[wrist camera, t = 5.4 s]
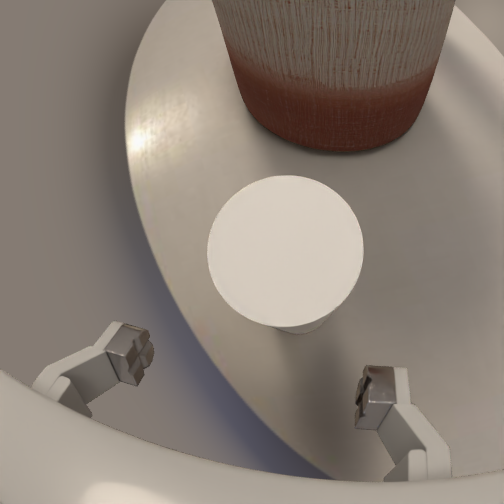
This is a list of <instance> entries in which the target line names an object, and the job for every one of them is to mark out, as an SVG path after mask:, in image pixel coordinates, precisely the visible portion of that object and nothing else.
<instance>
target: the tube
mask: <svg viewBox="0 0 504 504" xmlns="http://www.w3.org/2000/svg"><path fill="white" fill-rule="evenodd" d="M363 252H364V247H363V238H362V232H361V229H360V226H359V223H358V220H357V218H356V216H355V215H354V213H353V211H352V210H351V208H350V206H349V205H348V204H347V203H346V202H345V201H344V200H343V198H342V197H341V196H340V195H339V194H337V193H336V192H335V191H333V190H332V189H331V188H329V187H328V186H326V185H324V184H322V183H320V182H318V181H315V180H312V179H309V178H305V177H300V176H291V175H284V176H273V177H269V178H265V179H262V180H258V181H256V182H254V183H252V184H250V185H248V186H246V187H244V188H243V189H241V190H240V191H239V192H237V193H236V194H234V195H233V196H232V197H231V198H230V199H229V200H228V201H227V202H226V204H225V205H224V206H223V207H222V209H221V210H220V212H219V213H218V215H217V216H216V219H215V221H214V223H213V225H212V228H211V231H210V235H209V239H208V248H207V260H208V265H209V270H210V275H211V277H212V279H213V282H214V284H215V286H216V289H217V290H218V291H219V293H220V294H221V296H222V297H223V299H224V300H225V301H226V302H227V303H228V304H229V305H230V306H231V307H232V308H233V309H234V310H235V311H237V312H238V313H240V314H242V315H243V316H245V317H246V318H248V319H250V320H253V321H256V322H258V323H261V324H263V325H266V326H270V327H273V328H276V329H279V330H282V331H286V332H289V333H293V334H305V333H309V332H311V331H313V330H315V329H316V328H318V327H319V326H320V325H321V324H322V323H323V322H324V321H325V320H326V319H327V318H328V317H329V316H330V315H331V314H332V313H333V312H334V310H335V309H336V308H337V307H338V306H339V305H340V304H341V303H342V302H343V301H344V300H345V298H346V297H347V296H348V295H349V294H350V292H351V290H352V289H353V287H354V285H355V283H356V282H357V280H358V277H359V274H360V270H361V267H362V262H363Z"/></svg>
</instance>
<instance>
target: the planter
mask: <svg viewBox="0 0 504 504" xmlns="http://www.w3.org/2000/svg"><path fill="white" fill-rule="evenodd" d="M212 1H213V5H214V8H215V11H216V14H217V17H218V20H219V24H220V27H221V30H222V34H223V37H224V40H225V44H226V47H227V50H228V54H229V57H230V61H231V64H232V68H233V71H234V74H235V78H236V81H237V84H238V87H239V90H240V93H241V96H242V98H243V100H244V103H245V105H246V107H247V108H248V110H249V111H250V113H251V114H252V115H253V116H254V117H255V119H256V120H257V121H258V122H259V123H260V124H262V125H263V126H264V127H265V128H267V129H268V130H270V131H271V132H273V133H274V134H276V135H278V136H280V137H282V138H284V139H286V140H288V141H290V142H293V143H296V144H299V145H302V146H306V147H309V148H314V149H319V150H326V151H340V152H347V151H360V150H366V149H371V148H375V147H379V146H382V145H384V144H387V143H389V142H391V141H393V140H395V139H396V138H398V137H400V136H401V135H402V134H404V133H405V132H406V131H407V130H408V129H409V128H410V127H411V126H412V124H413V123H414V122H415V120H416V119H417V117H418V115H419V113H420V111H421V109H422V106H423V104H424V102H425V99H426V96H427V93H428V91H429V88H430V85H431V82H432V79H433V76H434V73H435V69H436V66H437V63H438V60H439V57H440V53H441V50H442V47H443V43H444V40H445V36H446V33H447V29H448V26H449V22H450V19H451V15H452V11H453V7H454V4H455V0H212Z"/></svg>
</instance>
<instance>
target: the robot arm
mask: <svg viewBox="0 0 504 504" xmlns="http://www.w3.org/2000/svg"><path fill="white" fill-rule="evenodd" d="M149 337H150V334H149V331H148V330H146V329H143V328H139V327H136V326H132V325H128V324H125V323H121V322H117V321H114V322H112V323H111V324H110V325H109V327H108V328H107V329H106V330H105V332H104V333H103V334H102V336H101V337H100V338H99V339H98V341H97V342H96V343H95V345H94V346H93V347H91V346H89V347H87V348H85V349H83V350H81V351H78V352H76V353H74V354H72V355H70V356H68V357H66V358H64V359H61V360H59V361H57V362H55V363H53V364H51V365H49V366H47V367H45V369H44V370H43V371H42V373H41V374H40V375H39V376H38V378H37V379H36V380H35V381H34V383H33V384H32V385H31V387H29V386H27V385H26V384H24V383H22V382H21V381H19V380H18V379H16V378H14V377H13V376H11V375H10V374H8V373H6V372H5V371H3V370H2V369H0V504H504V469H502V470H497V471H492V472H487V473H481V474H475V475H468V476H461V477H453V478H452V467H451V456H450V447H449V446H448V444H447V443H446V442H445V441H444V439H443V438H442V437H441V436H440V434H439V433H438V432H437V431H436V430H435V428H434V427H433V426H432V425H431V423H430V422H429V421H428V420H427V418H426V417H425V416H424V415H423V414H422V412H421V411H420V410H419V409H418V407H417V406H416V405H415V404H411V395H410V387H409V379H408V372H407V369H406V368H403V367H389V366H373V365H366V366H365V368H364V370H363V378H361V379H360V380H359V383H358V387H357V391H356V405H357V406H358V408H357V410H356V413H355V429H366V430H377V431H376V432H377V433H378V435H379V437H380V438H381V440H382V442H383V444H384V445H385V447H386V449H387V451H388V453H389V454H390V456H391V458H392V460H393V461H394V463H395V465H396V466H395V467H394V468H393V469H392V470H391V471H390V472H389V473H388V474H387V475H386V476H385V477H384V482H360V481H339V480H325V479H315V478H305V477H297V476H288V475H282V474H275V473H269V472H263V471H258V470H252V469H247V468H242V467H238V466H233V465H229V464H224V463H220V462H215V461H212V460H208V459H204V458H200V457H196V456H193V455H189V454H186V453H183V452H179V451H176V450H173V449H170V448H166V447H163V446H160V445H157V444H154V443H151V442H148V441H146V440H143V439H140V438H138V437H135V436H132V435H129V434H127V433H124V432H122V431H119V430H117V429H114V428H112V427H110V426H107V425H105V424H103V423H100V422H98V421H96V420H93V419H91V417H92V412H91V411H90V410H89V408H88V407H87V405H86V404H88V403H89V402H91V401H92V400H93V399H95V398H97V397H98V396H100V395H101V394H103V393H104V392H106V391H107V390H109V389H110V388H112V387H113V386H115V385H116V384H118V383H119V381H121V382H124V383H127V384H131V385H134V386H138V385H139V383H140V381H141V379H142V378H143V376H144V370H143V369H145V368H147V367H148V366H150V364H151V362H152V360H153V356H154V348H153V344H152V343H151V342H150V341H149V340H148V339H149Z"/></svg>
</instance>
